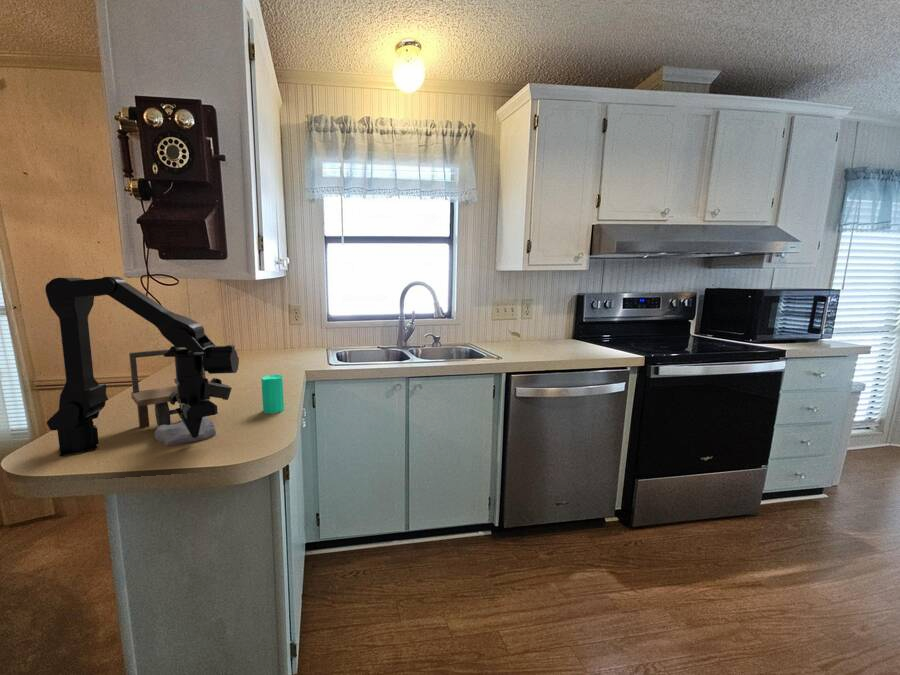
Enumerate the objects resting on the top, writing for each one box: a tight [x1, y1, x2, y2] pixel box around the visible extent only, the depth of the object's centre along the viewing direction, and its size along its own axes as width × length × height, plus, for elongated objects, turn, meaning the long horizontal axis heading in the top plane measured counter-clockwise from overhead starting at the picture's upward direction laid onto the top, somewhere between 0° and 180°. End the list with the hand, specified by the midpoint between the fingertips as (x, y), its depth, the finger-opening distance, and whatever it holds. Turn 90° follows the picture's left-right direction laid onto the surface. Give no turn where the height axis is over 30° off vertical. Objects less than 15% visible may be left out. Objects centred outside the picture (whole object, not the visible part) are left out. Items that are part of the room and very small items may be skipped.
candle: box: [261, 374, 285, 414], centre depth 129 cm, size 6×6×12 cm
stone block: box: [154, 416, 217, 447], centre depth 108 cm, size 12×5×10 cm
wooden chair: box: [128, 348, 206, 429], centre depth 116 cm, size 18×11×20 cm, turn 133°
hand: (195, 437), depth 104 cm, fingers closed
